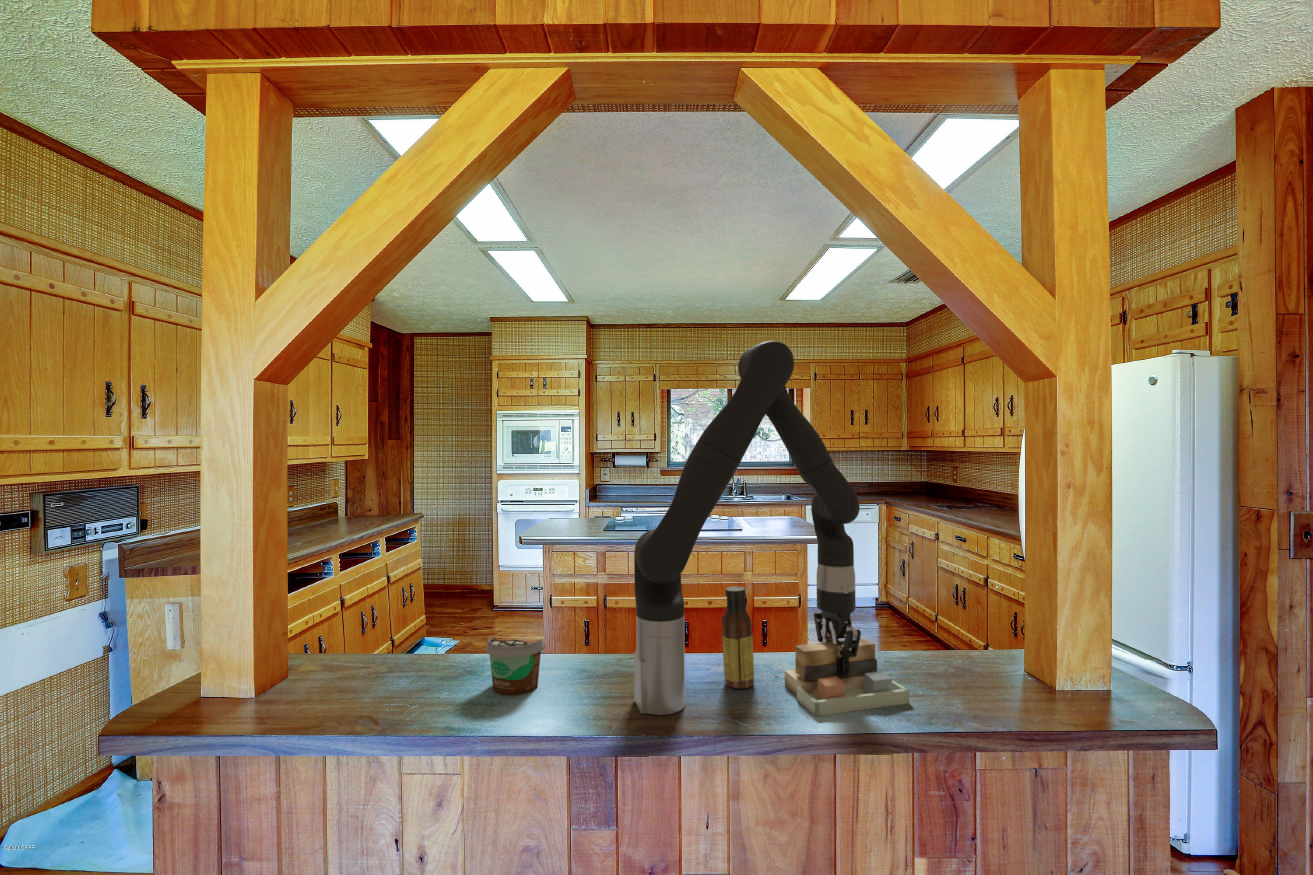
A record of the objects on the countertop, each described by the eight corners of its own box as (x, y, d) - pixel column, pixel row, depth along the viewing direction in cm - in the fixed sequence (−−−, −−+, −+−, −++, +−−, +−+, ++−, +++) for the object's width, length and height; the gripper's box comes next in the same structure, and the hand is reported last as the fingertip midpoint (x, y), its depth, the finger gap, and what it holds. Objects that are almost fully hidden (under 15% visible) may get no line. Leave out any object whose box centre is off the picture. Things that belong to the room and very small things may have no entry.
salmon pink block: (817, 698, 112) (825, 706, 109) (818, 678, 111) (826, 686, 108) (835, 696, 113) (844, 704, 110) (836, 676, 112) (845, 683, 109)
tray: (815, 716, 106) (815, 702, 106) (796, 699, 113) (796, 687, 113) (909, 703, 111) (909, 690, 111) (886, 688, 118) (886, 676, 118)
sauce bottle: (753, 678, 124) (752, 584, 124) (755, 690, 117) (754, 592, 118) (722, 677, 124) (721, 584, 124) (722, 689, 118) (722, 591, 118)
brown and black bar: (805, 680, 114) (805, 652, 114) (795, 672, 118) (795, 645, 118) (877, 672, 118) (876, 644, 118) (864, 664, 122) (864, 638, 122)
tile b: (863, 692, 114) (872, 700, 111) (864, 672, 114) (874, 680, 111) (881, 690, 115) (890, 698, 112) (882, 670, 115) (892, 678, 112)
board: (801, 699, 113) (801, 683, 113) (784, 684, 120) (784, 670, 120) (881, 688, 118) (881, 674, 118) (861, 675, 125) (861, 661, 125)
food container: (474, 694, 116) (473, 644, 117) (490, 682, 122) (489, 634, 123) (530, 700, 114) (530, 649, 114) (544, 687, 120) (544, 639, 120)
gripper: (801, 579, 124) (802, 660, 123) (838, 596, 110) (839, 687, 110) (832, 577, 126) (833, 656, 125) (873, 593, 112) (874, 683, 112)
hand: (836, 670), depth 118 cm, fingers closed on brown and black bar, 4 cm apart
